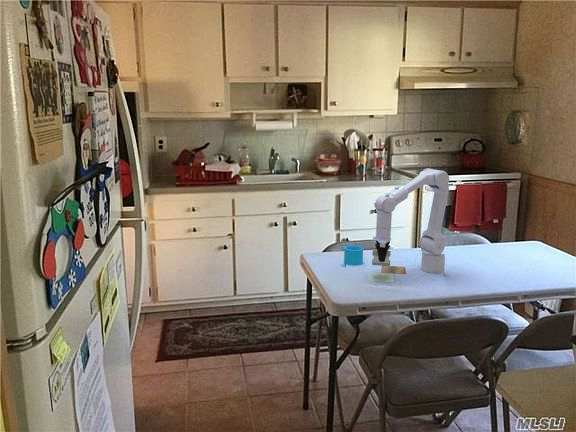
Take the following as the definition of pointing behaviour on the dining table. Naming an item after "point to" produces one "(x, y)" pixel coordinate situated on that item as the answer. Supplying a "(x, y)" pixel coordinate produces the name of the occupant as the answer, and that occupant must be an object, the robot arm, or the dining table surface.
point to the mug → (353, 255)
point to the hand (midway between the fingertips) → (381, 260)
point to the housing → (376, 259)
